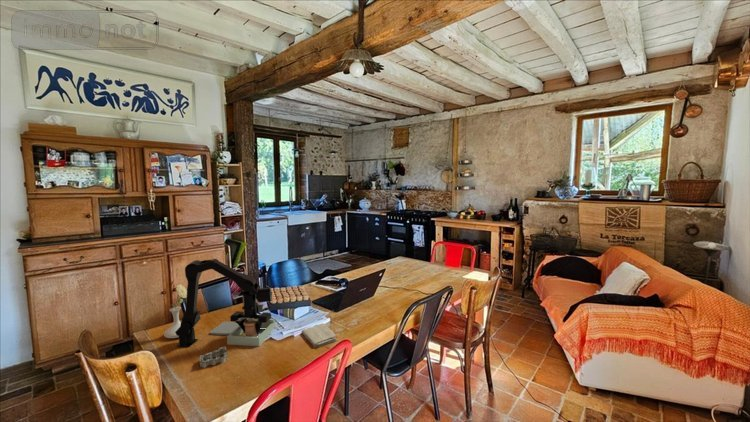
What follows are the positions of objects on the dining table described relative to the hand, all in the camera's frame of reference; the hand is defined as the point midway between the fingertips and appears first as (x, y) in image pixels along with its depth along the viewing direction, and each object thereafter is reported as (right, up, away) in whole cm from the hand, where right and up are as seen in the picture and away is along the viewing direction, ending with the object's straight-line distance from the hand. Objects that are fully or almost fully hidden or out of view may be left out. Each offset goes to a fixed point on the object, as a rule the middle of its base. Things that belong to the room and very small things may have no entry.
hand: (252, 333), depth 155 cm
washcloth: (+33, -2, -1) cm, 33 cm away
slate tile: (-16, -1, +8) cm, 18 cm away
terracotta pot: (0, -2, 0) cm, 2 cm away
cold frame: (0, -2, 0) cm, 2 cm away
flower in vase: (-39, -2, +5) cm, 39 cm away
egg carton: (-9, -5, -20) cm, 22 cm away
